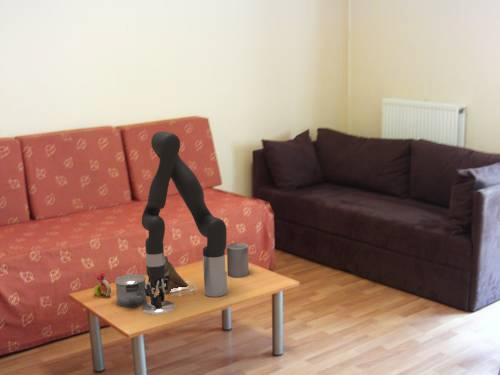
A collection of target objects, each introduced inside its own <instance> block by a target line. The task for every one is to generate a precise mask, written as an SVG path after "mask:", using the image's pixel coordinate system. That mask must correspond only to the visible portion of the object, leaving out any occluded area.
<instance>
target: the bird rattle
mask: <svg viewBox="0 0 500 375" xmlns="http://www.w3.org/2000/svg"><path fill="white" fill-rule="evenodd" d="M105 276H106V274H105V270H103V271H101V273H100V275H97V274H94V277H96V279H97V281H99V282H98V283H99V284H98V285H95V286H94V291H93V295H96V296H97V297H100V296H101V294H103V295H105V296H106V298H109V297H111V292H112V288H111V285H110V283H109V282H108V280H107V279H106V278H105Z"/></svg>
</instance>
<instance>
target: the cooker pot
mask: <svg viewBox="0 0 500 375" xmlns="http://www.w3.org/2000/svg"><path fill="white" fill-rule="evenodd" d="M146 280H147V277H146V276H145V275H144V274H140V273H139V274H138V273H128V274H123V275H120V276H117V277H116V278H115V279H114V282H115V290H116V292H115V293H116V301H117V302H116V304H117V305H118V306H119V307H122V308H137V307H140V306H141V307H142V306H143V305H144V304H146V303H147V301H148V300H147V298H148V297H147V296H146V293H145V290H144V287H143V284H146V283H147V282H146Z"/></svg>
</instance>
